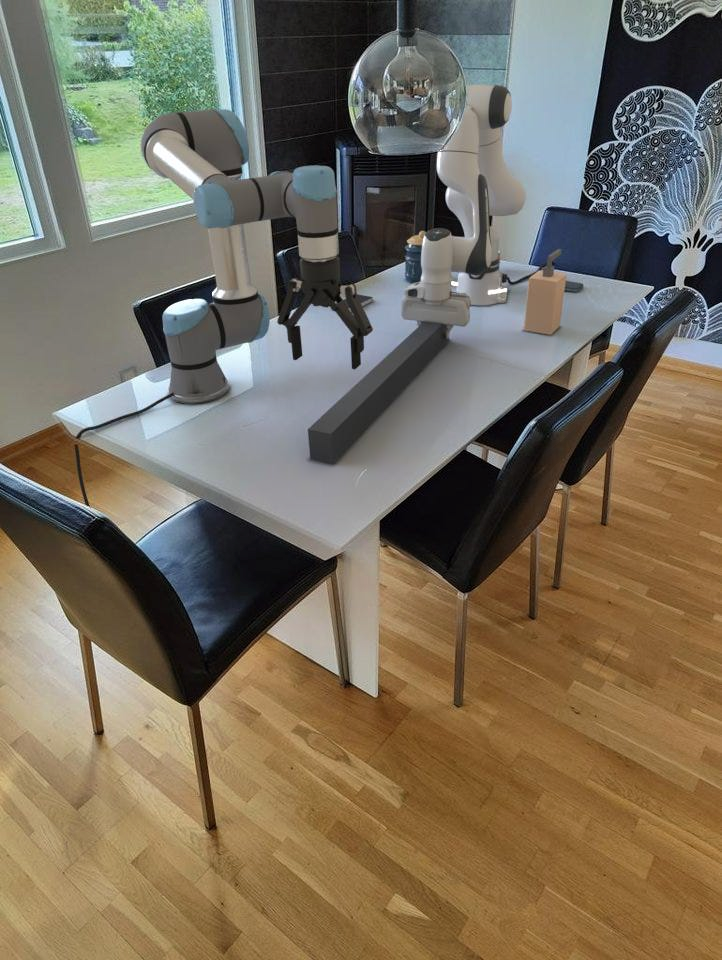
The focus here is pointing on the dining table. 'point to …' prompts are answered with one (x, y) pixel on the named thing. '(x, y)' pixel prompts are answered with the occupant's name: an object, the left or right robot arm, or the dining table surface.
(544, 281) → the soap dispenser
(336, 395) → the dining table surface
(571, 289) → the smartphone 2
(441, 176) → the right robot arm
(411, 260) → the canister
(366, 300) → the smartphone
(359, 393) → the beam
